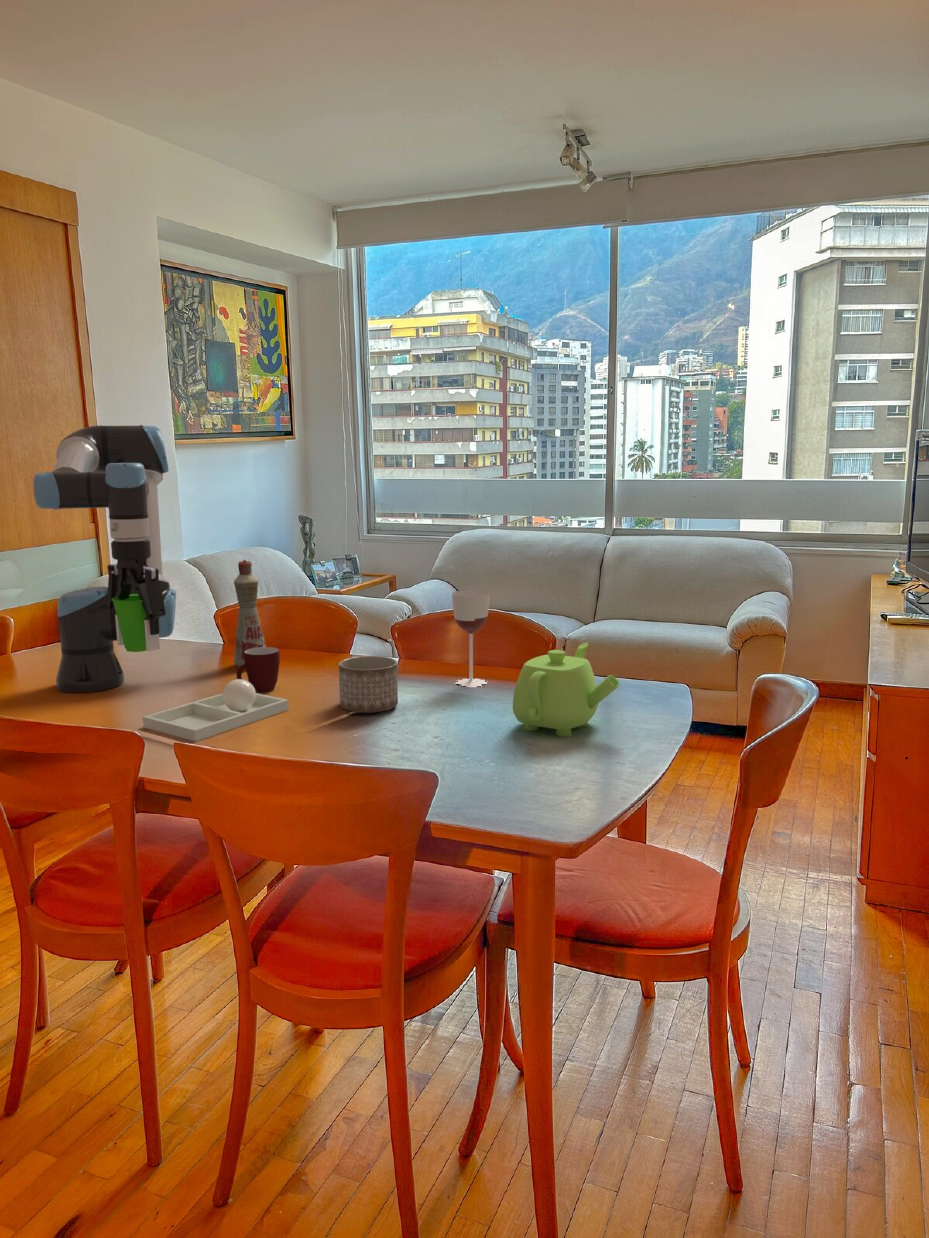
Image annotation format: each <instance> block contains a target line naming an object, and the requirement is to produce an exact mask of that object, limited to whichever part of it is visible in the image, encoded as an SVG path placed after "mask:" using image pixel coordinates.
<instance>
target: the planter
mask: <svg viewBox="0 0 929 1238" xmlns="http://www.w3.org/2000/svg"><path fill="white" fill-rule="evenodd" d="M338 682H339V684H338V685H339V686H338V687H339V690H338V691H339V706H340V708H342V709H343V710H345V711H349V712H352V713H353V712H355V713H362V714H373V713H374V714H375V713H379V712H385V711H389V710H392V709H393V708H395V707H397V705H398V703H399V697H398V696H399V693H398V684H399V683H398V661H397V660H396V659H394V658H392V657H388V656H381V655H361V656H354V657H353V656H352V657H349V658H345V659H342V660H341V661H339V662H338Z"/></svg>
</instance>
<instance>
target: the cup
mask: <svg viewBox="0 0 929 1238" xmlns="http://www.w3.org/2000/svg"><path fill="white" fill-rule="evenodd" d="M111 600H112V601H113V602H114V606H115V610H116V614H117V618H118V622H119V626H120V630H121V634H122V639H123V643H124V645H123V646H124V649H125V651H126V652H131V653H136V652H137V653H140V652H147V651H146V637H145V624H144V618H145V617H147V616H146V614H145V611H144V608H143V606H142V602H143V600H140V598H139V595H138V594H131V595H129V598H127V599H125V600H119V598H118V597H113V598H112V599H111ZM151 613H152V611H151Z"/></svg>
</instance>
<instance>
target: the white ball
mask: <svg viewBox="0 0 929 1238" xmlns="http://www.w3.org/2000/svg"><path fill="white" fill-rule="evenodd" d="M222 693H223V694H222ZM222 693H221V694H222V698H223V702H224V704H225V705H226V707H228V708H229V709H230V710H232V711H236V712H243V711H246V710H248V709H249V708H250V707H251V706H252V705H253V704H254V702H255V699H256V693H257V692H256V691H255V688H254V687H253V685H252V684H251V683H250V682H249V681H248V680H246V679H243V678H242V679H237V678H236V679H233V680H231V681H229V682H228V683H227V684H226V685H225V686H224V688H223V690H222Z"/></svg>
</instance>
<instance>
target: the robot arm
mask: <svg viewBox="0 0 929 1238" xmlns="http://www.w3.org/2000/svg"><path fill="white" fill-rule="evenodd" d="M166 452H167V451H166V447H165V442H164V438H163V435H162V431H161V429H160V428H159V427H157V426H154V425H143V424H139V425H91V426H86V427H83V428H80V429H78V430H76V431H74V432H72V433H70V434H68V435H67V436H66V437H64V438H63V439H62V440H61V441H60V443H59V444H58V445H57V449H56V452H55V458H56V462H55V464H54V467H53V468H52V471H46V472H38V473H36V474H35V475H34V476H33V495H34V501H35V503H36V505H37V507H38V508H40V509H43V510H44V509H45V510H46V509H47V510H48V509H49V510H66V509H67V510H68V509H69V510H70V509H94V508H95V509H99V508H100V509H101V508H103V509H107V508H108V514H109V515H108V518H109V531H110V532H109V533H110V538H111V539H114V540H112V541H111V542H110V548H111V557H112V559H114V560H116V563H113V564H107V573H108V583H107V586H104V585H103V586H93V587H86V588H79V589H76V590H72V591H69V592H65V593H64V594H62V595H60V597H59V598H58V599H57V615H56V617H58V627H59V639H60V648H61V658H60V662H59V666H58V671H57V675H56V677H55V684H56V685H55V686H56V689H57V690H59V691H60V692H65V693H76V694H77V693H91V692H99V691H106V690H109V689H113V688H117V687H119V686H121V685H123V684H124V683H125V675H124V671H123V668H122V666H121V664H120V662H119V659H118V658H117V655H116V653H115V648H114V641H116V643H117V646H124V643H123V639H122V634H121V630H120V626H119V622H118V618H117V614H116V610H115V606H114V602H113V601H112V600H111V599H112V598H113V597H118V598H119V600H125V599H127V598H129V595H131V594H138V595H139V598H140V600H143V602H142V606H143V608H144V611H145V614H146V616H147V617H145V618H144V624H145V637H146V651H145V652H151V651H156V650H160V648H161V646H160V644H161V643H160V639H161V638H168V637H170V636H171V635H173V632H174V628H175V621H176V620H175V619H176V608H177V607H176V605H177V601H176V600H177V591H176V590H175V589H173V588H170V582H169V581H168V580H167V579H166V578H165V577H164V576H163V562H162V561H163V560H162V547H161V529H160V514H159V512H160V511H159V495H158V491H159V490H158V485H160V483H162V481H163V480H164V474H166V473H168V472H169V464H168V458H167V453H166ZM151 611H152V613H151Z"/></svg>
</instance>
